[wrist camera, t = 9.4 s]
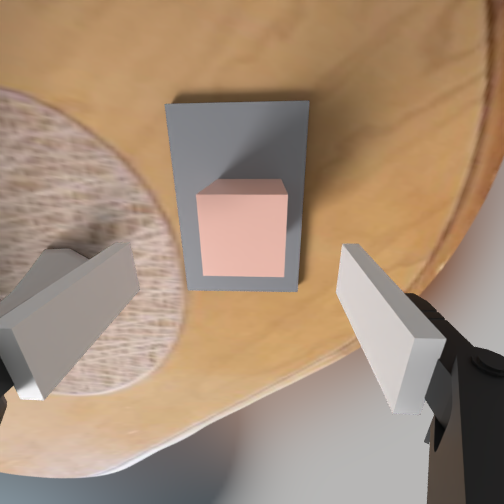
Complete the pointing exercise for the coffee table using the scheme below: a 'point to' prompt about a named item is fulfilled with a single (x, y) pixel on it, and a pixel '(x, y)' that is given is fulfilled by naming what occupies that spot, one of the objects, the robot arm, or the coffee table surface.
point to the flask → (42, 275)
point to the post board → (238, 173)
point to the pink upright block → (243, 227)
